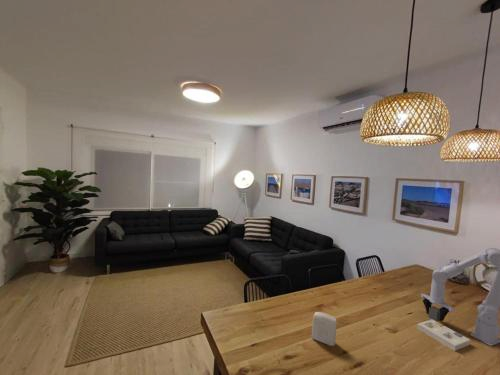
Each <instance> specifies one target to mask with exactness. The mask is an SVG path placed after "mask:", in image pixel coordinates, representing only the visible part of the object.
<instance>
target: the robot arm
mask: <svg viewBox="0 0 500 375" xmlns="http://www.w3.org/2000/svg"><path fill="white" fill-rule="evenodd" d="M479 264H485V265H489V264H492V265H493V266H494V267H495V268H496V270H498V271H497V274H496V275H495V278H494V280H493V282H492V284H491V286H490V289H489V291H488V294H487V296H486V297H485V299H483V301H482V303H481V304H479V305H478V306H477V308H476V309H477V312H478V315H476V317H475V318H476V319H475V326H474V332H472V333H470V334H469V335H470V337H473V338H475V339H477V340H478V341H480V342H483V343H484V344H487V345H488V346H491V347H492V346H495V345H497V344H499V343H500V325H499V317H498V316H499V314H500V249H498V248H495V247H490V248H487V249H485V250H481V251H480V252H478V253H477V252H476V253H475V254H474V255H471V256H469V257H467V258H466V259H464V260H461V261H460V262H458V263H456V262H447V265H444V266H442V267H438V268H436V269H434V270H433V272H432V273H431V274H432V275H431V276H432V279H431V284H430V285H431V286H430V295H428V294H425V293H421V294H420V298H421V299H422V303H423V304H424V308H425V312H426V314H427V315H429V307H432V305H433V304H434V305H437V306H438V307H439V309H440V321H441V322H443V321H444V320H445V318H446V317H447V314H449V313H450V312H451V313H452V312H454V308H455V307H453V306H451V305H449V304H448V303H446V301H445V293H446V283H447V281H448V280H449V279H452V278H453V277H456V276H459V275H461V274H463V270H465V269H468V268H470V267H473V266H475V265H479Z"/></svg>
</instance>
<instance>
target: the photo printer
mask: <svg viewBox="0 0 500 375" xmlns="http://www.w3.org/2000/svg"><path fill="white" fill-rule="evenodd" d="M312 319H313V320H312V327H311V328H312V329H311V339H313V340H315V341H318V342H320V343H323V344H325V345H328V346H330V347H334V346H336V337H337V327H338V324H337V319H336V317H334V316H332V315H330V314H328V313H326V312H320V311H315V313H314V314H313V317H312Z"/></svg>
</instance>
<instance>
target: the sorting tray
mask: <svg viewBox="0 0 500 375" xmlns="http://www.w3.org/2000/svg"><path fill="white" fill-rule="evenodd" d="M416 326H417V327H416V329H417V330H419V331H421V332H422V333H424V334H426V335H427V336H428V337H430V338H432V339H434V340H435V341H437V342H438V343H441V344H442V345H444V346H445V347H447V348H448V349H451V350H452V351H454V352H456V351H458V350H460V349H463V348H466V347H468V346H470V344H471V339H470V338H468V337H467V336H464V335H463V334H461V333H458V332H457V331H455V330H453V329H451V328H449V327H447V325H446V326H445V325H444V324H442V322H441V323H439V322H436V321H434V320H433V319H432V320H428V319H427V320H425V321H422V322H419V323H417V325H416Z"/></svg>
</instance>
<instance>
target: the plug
mask: <svg viewBox="0 0 500 375" xmlns="http://www.w3.org/2000/svg"><path fill="white" fill-rule="evenodd" d="M427 315H428V316H427V321H428V320H432V319H433V320H434V321H436V322H439V323H441V324H442V321H440V307H436V306H431V307H429V314H427Z"/></svg>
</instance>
